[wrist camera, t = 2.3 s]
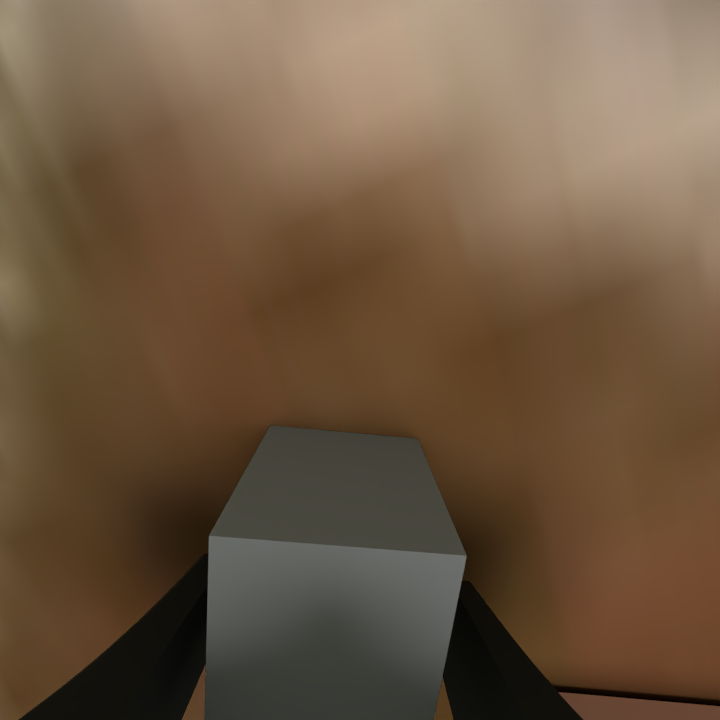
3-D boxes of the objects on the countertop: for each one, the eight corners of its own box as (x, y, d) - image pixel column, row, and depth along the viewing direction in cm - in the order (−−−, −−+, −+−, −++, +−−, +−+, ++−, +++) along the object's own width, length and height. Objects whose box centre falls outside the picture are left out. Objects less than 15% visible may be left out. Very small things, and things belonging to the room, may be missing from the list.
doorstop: (381, 664, 13) (399, 890, 8) (257, 656, 13) (200, 884, 8) (416, 436, 11) (466, 556, 6) (271, 422, 11) (209, 535, 6)
